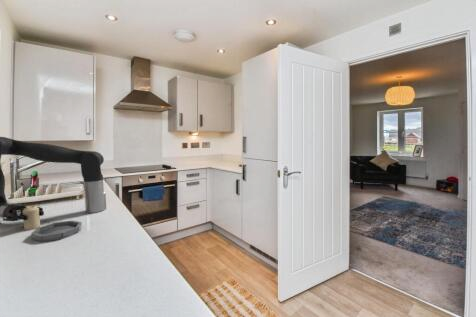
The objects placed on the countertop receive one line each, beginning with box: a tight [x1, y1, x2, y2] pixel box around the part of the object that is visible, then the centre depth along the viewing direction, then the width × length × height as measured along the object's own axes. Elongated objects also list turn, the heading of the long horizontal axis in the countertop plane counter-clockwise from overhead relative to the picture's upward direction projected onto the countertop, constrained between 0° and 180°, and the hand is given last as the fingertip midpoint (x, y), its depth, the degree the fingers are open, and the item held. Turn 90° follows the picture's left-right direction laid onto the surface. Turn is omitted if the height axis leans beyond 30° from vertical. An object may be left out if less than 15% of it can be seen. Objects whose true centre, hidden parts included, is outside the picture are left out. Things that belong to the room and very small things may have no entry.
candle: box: [22, 205, 41, 231], centre depth 106 cm, size 6×6×10 cm
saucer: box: [30, 220, 83, 242], centre depth 100 cm, size 16×16×2 cm
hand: (34, 215), depth 105 cm, fingers closed on candle, 5 cm apart
